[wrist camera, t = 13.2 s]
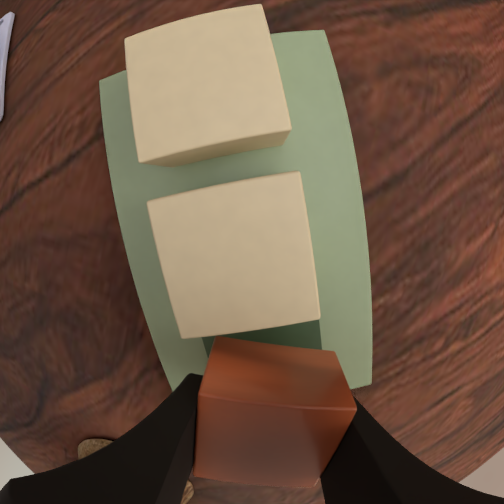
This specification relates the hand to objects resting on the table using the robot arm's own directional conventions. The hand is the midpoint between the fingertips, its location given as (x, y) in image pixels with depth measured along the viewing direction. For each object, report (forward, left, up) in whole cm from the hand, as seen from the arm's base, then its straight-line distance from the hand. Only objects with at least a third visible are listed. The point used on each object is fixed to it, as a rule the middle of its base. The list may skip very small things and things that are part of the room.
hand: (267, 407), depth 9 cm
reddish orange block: (0, 0, -1) cm, 1 cm away
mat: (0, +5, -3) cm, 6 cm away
